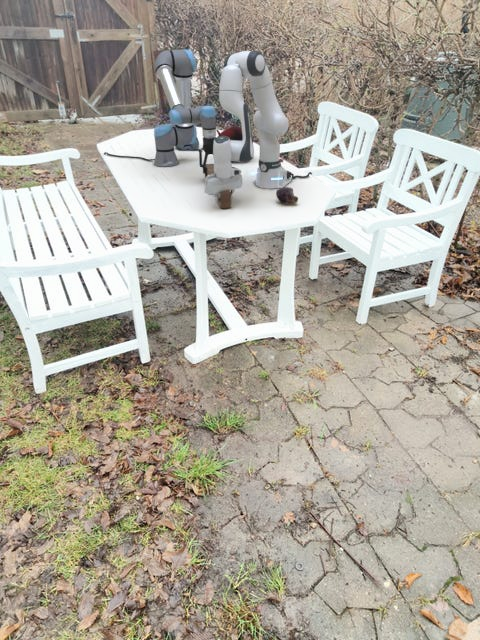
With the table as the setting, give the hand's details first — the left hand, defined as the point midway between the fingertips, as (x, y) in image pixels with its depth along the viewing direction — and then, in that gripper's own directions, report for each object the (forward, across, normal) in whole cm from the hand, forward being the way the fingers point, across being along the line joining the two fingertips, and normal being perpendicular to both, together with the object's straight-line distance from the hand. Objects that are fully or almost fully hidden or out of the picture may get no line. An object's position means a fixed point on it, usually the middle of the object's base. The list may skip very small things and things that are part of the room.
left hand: (211, 178), depth 263 cm
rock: (+1, +32, -45) cm, 55 cm away
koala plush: (+2, -6, +81) cm, 81 cm away
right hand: (-2, 0, -42) cm, 42 cm away
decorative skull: (+2, +22, +43) cm, 49 cm away
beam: (0, 0, -21) cm, 21 cm away
